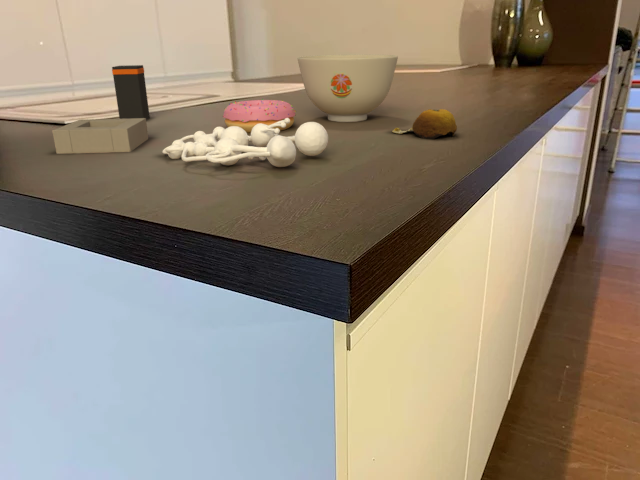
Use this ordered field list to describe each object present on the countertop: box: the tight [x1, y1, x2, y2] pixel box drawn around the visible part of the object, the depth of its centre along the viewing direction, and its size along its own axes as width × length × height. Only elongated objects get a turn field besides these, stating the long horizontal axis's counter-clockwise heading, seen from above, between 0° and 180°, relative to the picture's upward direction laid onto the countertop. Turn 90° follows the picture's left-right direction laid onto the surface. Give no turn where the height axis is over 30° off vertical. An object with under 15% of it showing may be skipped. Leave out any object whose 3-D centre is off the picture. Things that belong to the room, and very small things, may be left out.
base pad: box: [52, 118, 149, 155], centre depth 70 cm, size 9×9×3 cm
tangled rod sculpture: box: [161, 118, 329, 168], centre depth 61 cm, size 19×14×4 cm
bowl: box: [297, 54, 399, 123], centre depth 88 cm, size 16×16×10 cm
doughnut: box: [222, 98, 297, 134], centre depth 81 cm, size 11×11×4 cm
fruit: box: [391, 108, 458, 140], centre depth 74 cm, size 8×8×4 cm
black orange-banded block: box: [111, 64, 151, 121], centre depth 91 cm, size 4×4×9 cm
